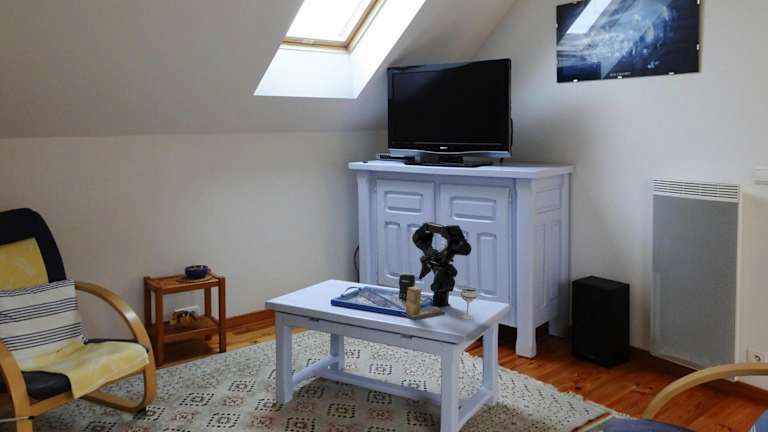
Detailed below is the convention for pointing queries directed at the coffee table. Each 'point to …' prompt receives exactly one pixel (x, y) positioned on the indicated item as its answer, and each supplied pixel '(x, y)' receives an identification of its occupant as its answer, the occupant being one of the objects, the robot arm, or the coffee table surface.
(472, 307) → the coffee table surface
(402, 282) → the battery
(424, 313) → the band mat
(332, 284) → the coffee table surface
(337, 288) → the coffee table surface
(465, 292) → the wineglass
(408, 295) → the sleeve
